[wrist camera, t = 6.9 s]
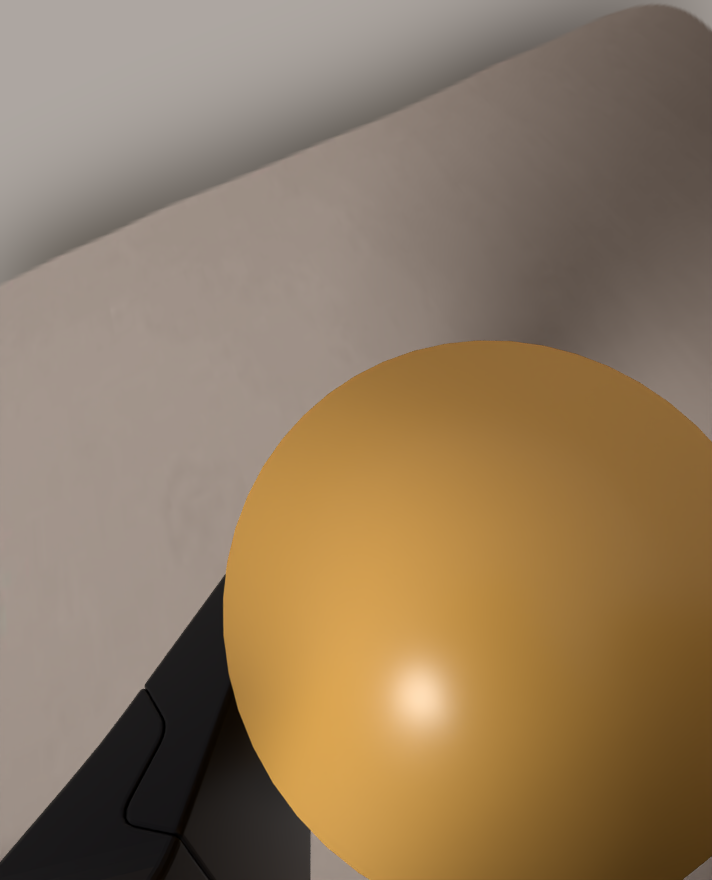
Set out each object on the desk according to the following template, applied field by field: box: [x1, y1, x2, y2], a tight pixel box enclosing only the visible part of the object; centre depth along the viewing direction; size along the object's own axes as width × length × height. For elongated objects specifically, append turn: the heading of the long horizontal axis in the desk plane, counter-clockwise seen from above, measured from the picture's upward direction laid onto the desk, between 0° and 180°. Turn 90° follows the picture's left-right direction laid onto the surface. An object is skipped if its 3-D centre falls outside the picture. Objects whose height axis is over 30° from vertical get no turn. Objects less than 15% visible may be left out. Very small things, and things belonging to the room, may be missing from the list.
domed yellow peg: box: [223, 341, 712, 880], centre depth 9 cm, size 4×4×12 cm
